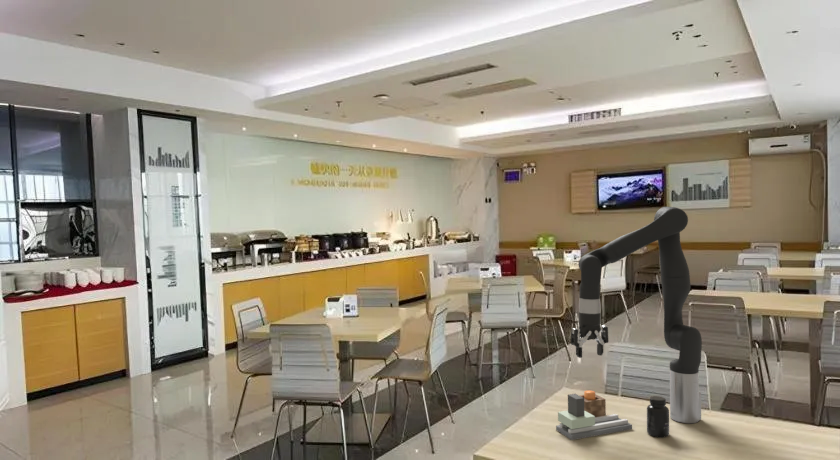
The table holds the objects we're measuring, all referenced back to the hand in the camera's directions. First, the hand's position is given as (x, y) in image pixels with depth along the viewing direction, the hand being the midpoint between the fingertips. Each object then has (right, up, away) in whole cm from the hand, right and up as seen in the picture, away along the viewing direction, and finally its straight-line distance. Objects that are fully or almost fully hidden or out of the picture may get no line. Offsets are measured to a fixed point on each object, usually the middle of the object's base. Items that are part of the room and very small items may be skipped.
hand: (589, 356), depth 196 cm
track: (-1, -23, -9) cm, 25 cm away
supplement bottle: (+18, -23, -14) cm, 32 cm away
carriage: (-8, -20, -11) cm, 24 cm away
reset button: (0, -17, +1) cm, 17 cm away
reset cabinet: (0, -23, +1) cm, 23 cm away
